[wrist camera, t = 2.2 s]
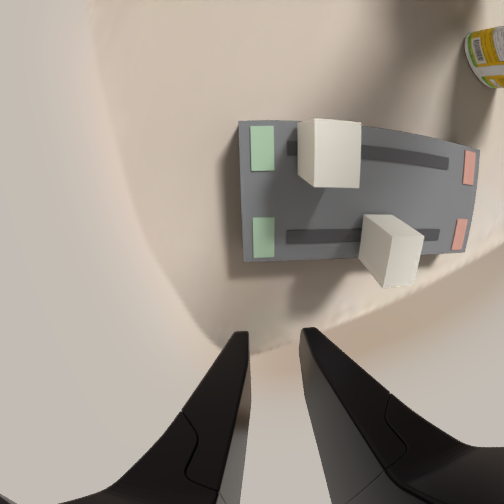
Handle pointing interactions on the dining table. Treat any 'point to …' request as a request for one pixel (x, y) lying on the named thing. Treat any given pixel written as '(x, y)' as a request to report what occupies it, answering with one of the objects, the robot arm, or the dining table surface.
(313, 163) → the block
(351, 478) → the robot arm
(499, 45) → the supplement bottle
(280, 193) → the panel
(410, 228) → the block
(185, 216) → the dining table surface
